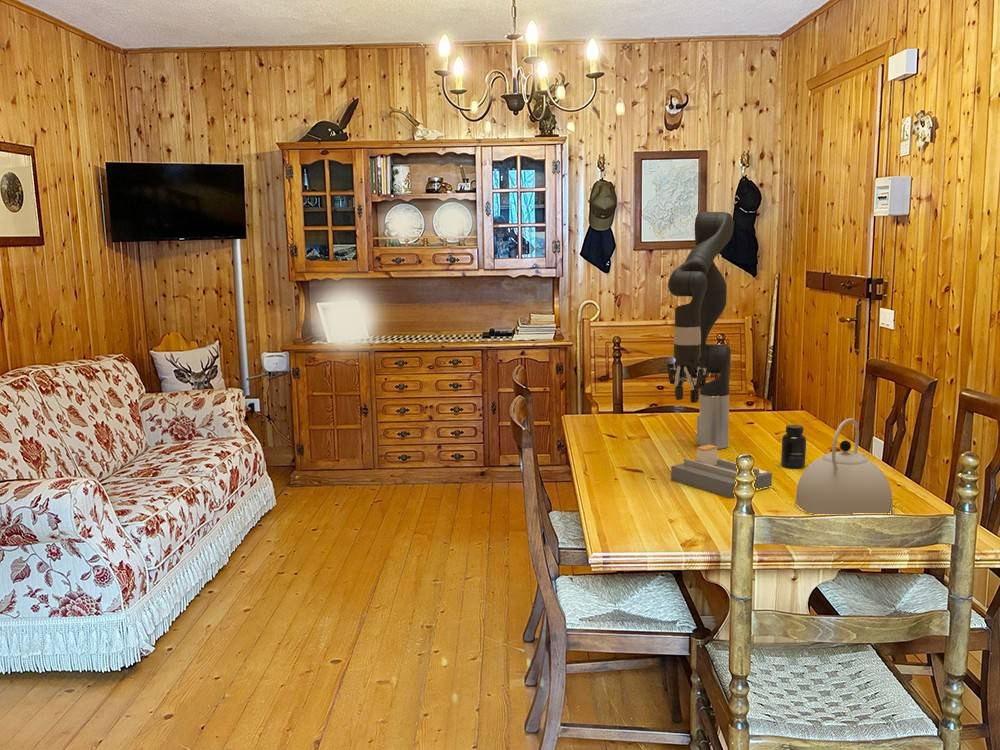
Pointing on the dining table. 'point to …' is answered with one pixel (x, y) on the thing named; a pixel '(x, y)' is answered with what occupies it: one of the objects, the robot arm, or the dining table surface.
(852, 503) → the kettle
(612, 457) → the dining table surface
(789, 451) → the supplement bottle
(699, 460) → the handle
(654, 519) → the dining table surface
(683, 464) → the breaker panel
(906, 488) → the dining table surface
